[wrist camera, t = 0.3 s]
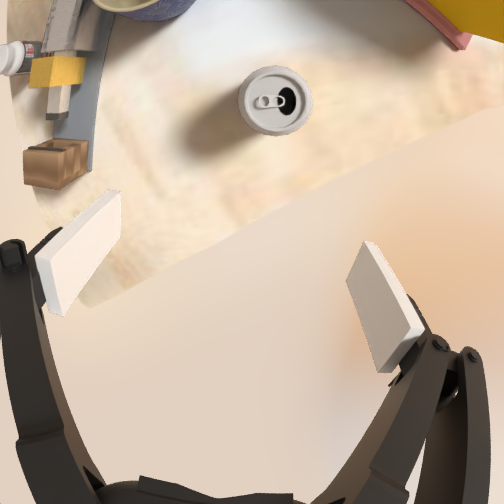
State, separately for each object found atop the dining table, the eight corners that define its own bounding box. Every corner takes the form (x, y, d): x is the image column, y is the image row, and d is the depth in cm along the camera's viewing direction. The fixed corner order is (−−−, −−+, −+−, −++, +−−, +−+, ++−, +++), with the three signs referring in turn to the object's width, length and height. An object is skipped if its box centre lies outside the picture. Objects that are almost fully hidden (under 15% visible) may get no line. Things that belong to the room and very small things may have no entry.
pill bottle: (48, 35, 27) (9, 33, 19) (53, 63, 30) (12, 65, 22) (25, 52, 28) (-14, 54, 20) (30, 78, 31) (-10, 85, 22)
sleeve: (81, 8, 26) (53, 0, 19) (110, 4, 26) (84, -7, 20) (70, 53, 30) (40, 52, 23) (98, 51, 30) (70, 48, 24)
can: (299, 125, 37) (315, 139, 27) (243, 125, 37) (237, 139, 27) (299, 73, 33) (316, 65, 23) (242, 72, 33) (235, 64, 23)
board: (75, 9, 26) (73, 8, 25) (117, 3, 26) (116, 3, 26) (54, 165, 39) (52, 166, 39) (91, 170, 40) (90, 171, 40)
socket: (57, 135, 37) (22, 149, 29) (90, 138, 37) (58, 152, 30) (56, 165, 39) (24, 184, 32) (89, 170, 40) (58, 189, 32)
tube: (85, -17, 22) (56, -29, 15) (107, -21, 22) (80, -35, 16) (58, 115, 33) (25, 125, 26) (78, 116, 34) (46, 125, 27)
